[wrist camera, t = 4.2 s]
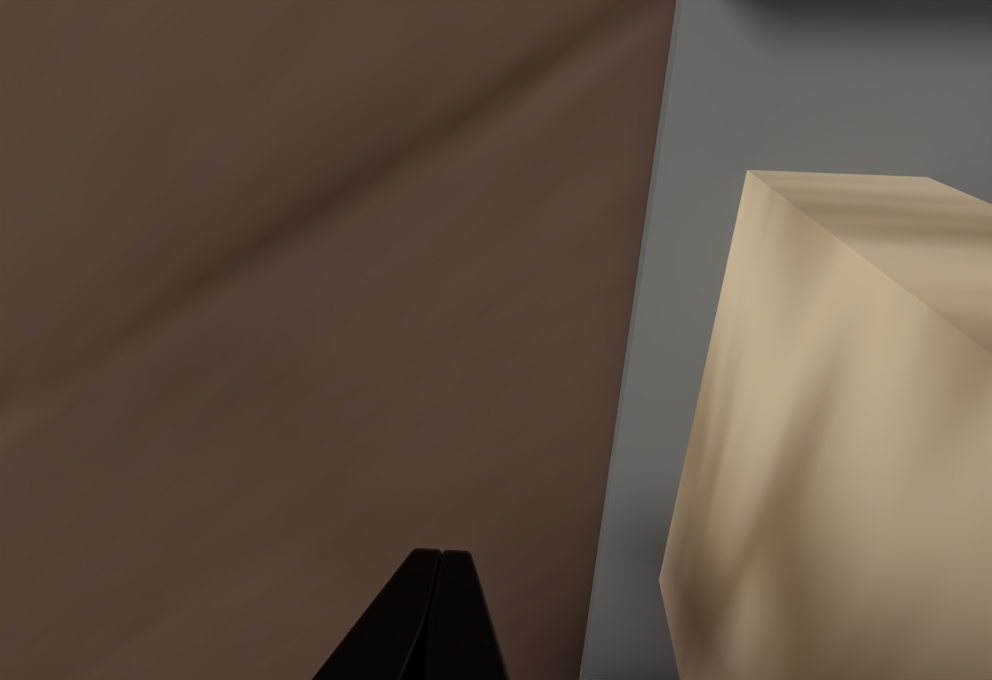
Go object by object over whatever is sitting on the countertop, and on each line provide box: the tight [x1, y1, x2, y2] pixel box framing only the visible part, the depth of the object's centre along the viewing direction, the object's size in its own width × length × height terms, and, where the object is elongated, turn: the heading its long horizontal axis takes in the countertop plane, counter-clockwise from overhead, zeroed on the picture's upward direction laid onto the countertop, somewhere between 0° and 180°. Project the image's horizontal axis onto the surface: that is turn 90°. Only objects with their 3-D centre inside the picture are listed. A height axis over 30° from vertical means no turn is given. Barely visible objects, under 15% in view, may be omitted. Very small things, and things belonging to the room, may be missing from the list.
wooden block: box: [659, 170, 992, 680], centre depth 9 cm, size 10×3×8 cm, turn 178°
